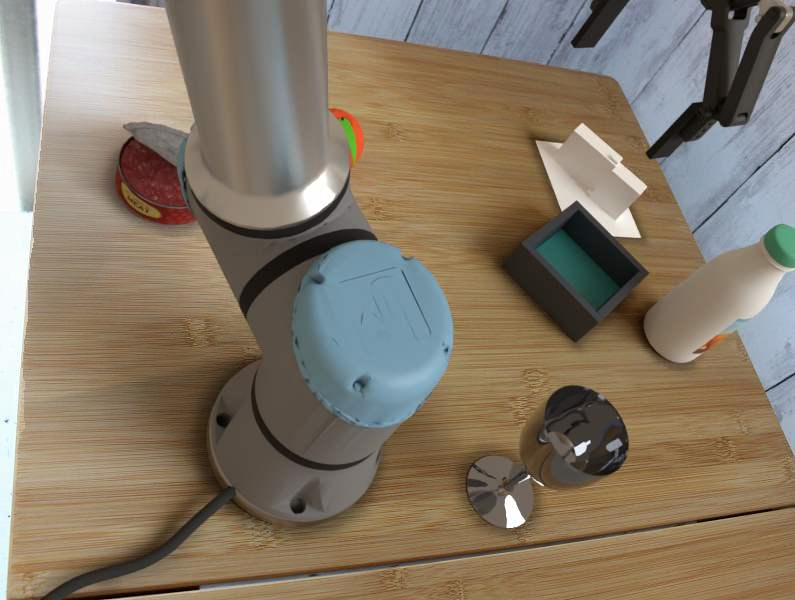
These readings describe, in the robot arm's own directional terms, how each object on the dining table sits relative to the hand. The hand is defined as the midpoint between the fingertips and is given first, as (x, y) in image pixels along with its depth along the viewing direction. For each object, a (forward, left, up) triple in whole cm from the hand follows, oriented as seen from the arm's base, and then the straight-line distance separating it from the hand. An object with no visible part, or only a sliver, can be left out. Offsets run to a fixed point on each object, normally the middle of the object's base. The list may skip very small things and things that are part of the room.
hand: (618, 98), depth 78 cm
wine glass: (-23, -19, -24) cm, 39 cm away
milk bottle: (+10, -21, -24) cm, 34 cm away
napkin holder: (+19, -1, -24) cm, 31 cm away
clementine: (-11, +19, -24) cm, 33 cm away
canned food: (-28, +25, -24) cm, 45 cm away
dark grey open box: (+4, -8, -24) cm, 26 cm away
